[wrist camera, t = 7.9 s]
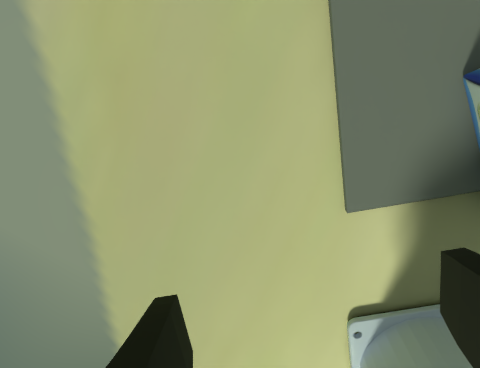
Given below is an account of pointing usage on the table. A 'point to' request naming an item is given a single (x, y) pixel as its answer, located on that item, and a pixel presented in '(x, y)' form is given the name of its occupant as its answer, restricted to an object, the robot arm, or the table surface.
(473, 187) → the mat
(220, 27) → the table surface
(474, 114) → the medicine box
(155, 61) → the table surface
